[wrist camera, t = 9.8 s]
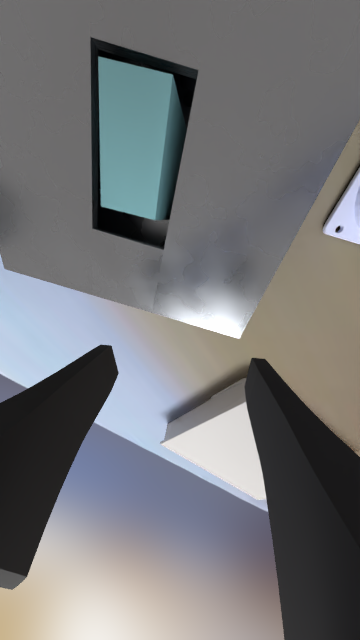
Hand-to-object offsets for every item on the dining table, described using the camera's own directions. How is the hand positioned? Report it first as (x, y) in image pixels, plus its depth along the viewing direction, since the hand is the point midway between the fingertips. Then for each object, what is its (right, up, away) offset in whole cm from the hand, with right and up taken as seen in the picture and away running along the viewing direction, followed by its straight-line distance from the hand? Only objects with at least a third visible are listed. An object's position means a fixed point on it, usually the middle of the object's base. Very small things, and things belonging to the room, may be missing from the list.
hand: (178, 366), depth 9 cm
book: (+12, -17, +21) cm, 30 cm away
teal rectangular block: (-1, +13, +4) cm, 14 cm away
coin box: (-1, +13, +5) cm, 14 cm away
